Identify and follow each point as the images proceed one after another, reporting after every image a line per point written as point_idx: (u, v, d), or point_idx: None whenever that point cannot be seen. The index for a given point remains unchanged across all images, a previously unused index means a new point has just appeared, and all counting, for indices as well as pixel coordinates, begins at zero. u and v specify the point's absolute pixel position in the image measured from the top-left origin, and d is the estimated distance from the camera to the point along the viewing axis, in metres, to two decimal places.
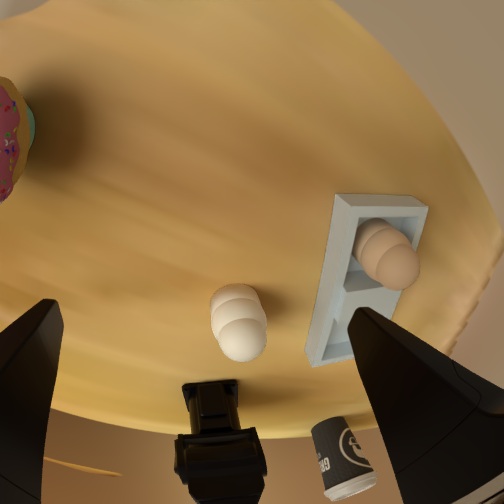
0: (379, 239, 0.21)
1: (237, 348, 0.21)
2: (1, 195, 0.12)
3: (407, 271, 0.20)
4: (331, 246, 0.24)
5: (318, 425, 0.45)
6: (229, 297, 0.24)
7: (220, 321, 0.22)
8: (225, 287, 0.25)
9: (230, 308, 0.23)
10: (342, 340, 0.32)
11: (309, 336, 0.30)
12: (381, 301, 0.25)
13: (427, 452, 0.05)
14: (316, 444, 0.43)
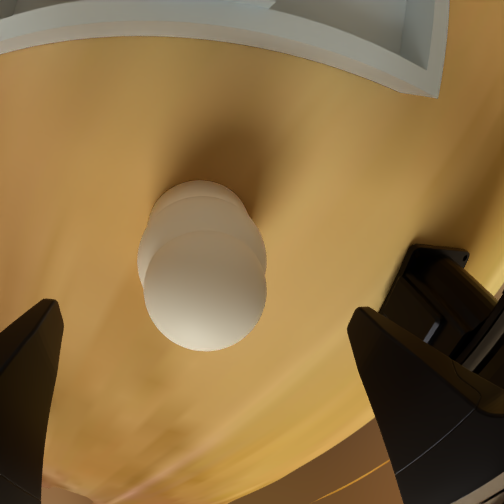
0: None
1: (183, 341, 0.08)
2: None
3: None
4: (73, 35, 0.07)
5: None
6: None
7: None
8: None
9: None
10: (400, 6, 0.08)
11: (358, 73, 0.10)
12: None
13: (427, 452, 0.05)
14: None
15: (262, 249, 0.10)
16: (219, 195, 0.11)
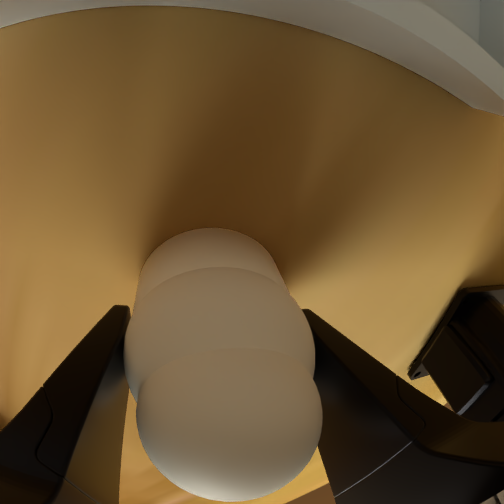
0: None
1: None
2: None
3: None
4: (17, 13, 0.03)
5: None
6: None
7: None
8: None
9: None
10: None
11: (433, 79, 0.06)
12: None
13: (362, 480, 0.05)
14: None
15: (313, 351, 0.06)
16: (244, 260, 0.07)
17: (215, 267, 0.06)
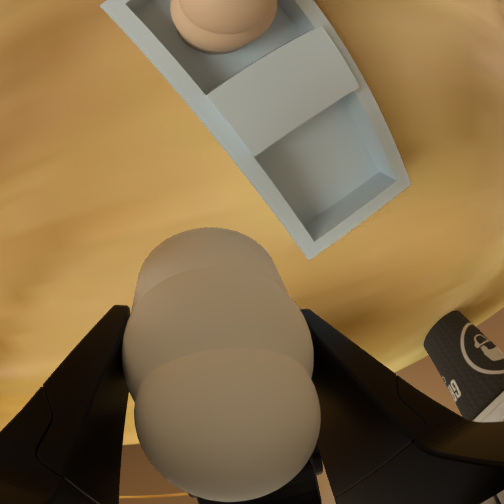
0: None
1: None
2: None
3: None
4: None
5: (428, 337, 0.30)
6: None
7: None
8: None
9: None
10: (342, 193, 0.18)
11: None
12: (307, 75, 0.12)
13: (362, 480, 0.05)
14: (435, 364, 0.28)
15: (311, 352, 0.06)
16: (243, 260, 0.07)
17: (214, 267, 0.06)
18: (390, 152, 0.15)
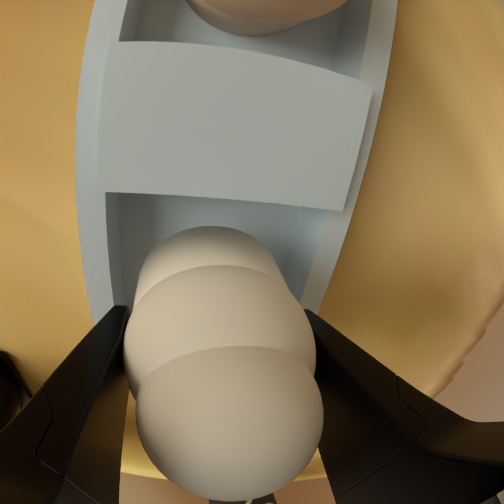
0: None
1: None
2: None
3: None
4: None
5: None
6: None
7: None
8: None
9: None
10: None
11: None
12: (283, 132, 0.07)
13: (362, 480, 0.05)
14: (210, 501, 0.22)
15: (314, 350, 0.06)
16: (244, 258, 0.07)
17: (215, 265, 0.06)
18: None
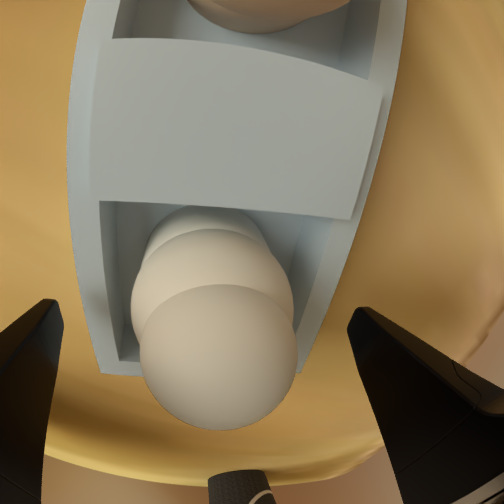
0: None
1: None
2: None
3: None
4: None
5: (216, 478, 0.24)
6: None
7: None
8: None
9: None
10: None
11: None
12: (289, 136, 0.06)
13: (427, 452, 0.05)
14: None
15: (290, 299, 0.08)
16: (233, 225, 0.08)
17: (209, 228, 0.08)
18: (306, 327, 0.10)
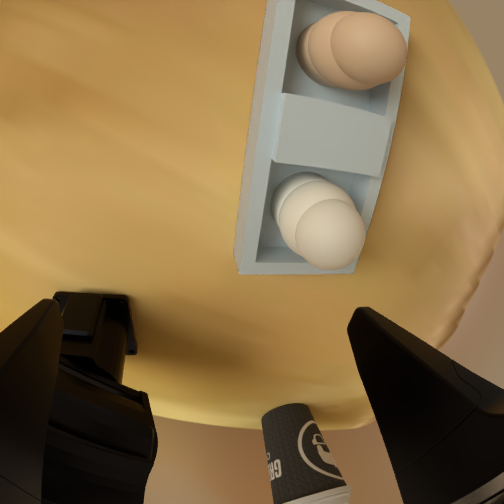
0: (333, 13, 0.11)
1: (327, 260, 0.14)
2: None
3: (382, 28, 0.09)
4: (264, 41, 0.13)
5: (270, 412, 0.33)
6: (277, 221, 0.18)
7: (296, 252, 0.17)
8: (271, 213, 0.19)
9: (283, 233, 0.16)
10: None
11: (238, 220, 0.19)
12: (355, 141, 0.15)
13: (427, 452, 0.05)
14: (266, 439, 0.31)
15: None
16: (326, 180, 0.17)
17: (318, 180, 0.16)
18: None
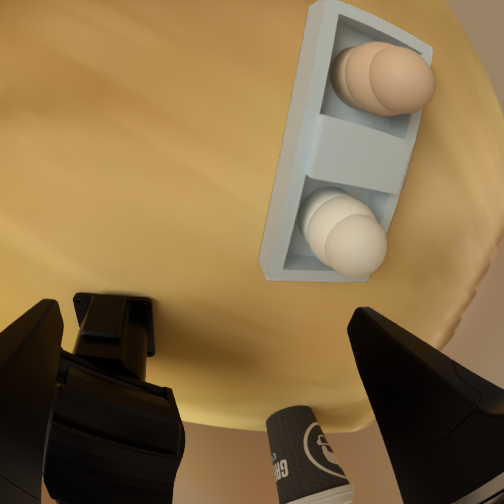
0: (370, 43, 0.12)
1: (355, 269, 0.16)
2: None
3: (417, 65, 0.10)
4: (302, 63, 0.15)
5: (276, 414, 0.34)
6: (305, 232, 0.19)
7: (323, 261, 0.18)
8: (298, 224, 0.20)
9: (312, 243, 0.18)
10: None
11: (266, 229, 0.20)
12: (381, 162, 0.16)
13: (426, 452, 0.05)
14: (271, 440, 0.32)
15: None
16: (351, 196, 0.18)
17: (345, 196, 0.18)
18: None
